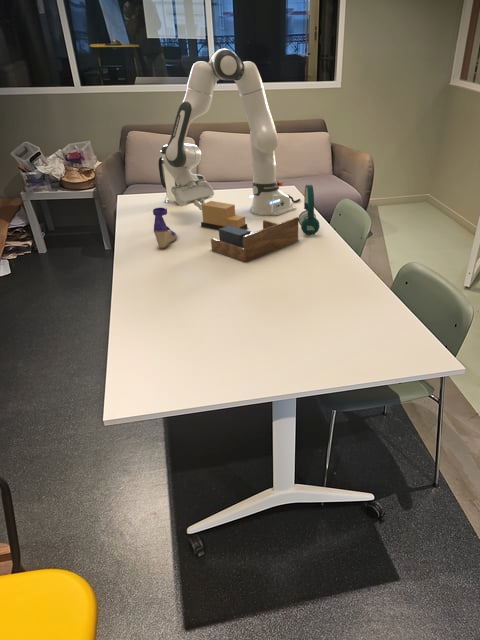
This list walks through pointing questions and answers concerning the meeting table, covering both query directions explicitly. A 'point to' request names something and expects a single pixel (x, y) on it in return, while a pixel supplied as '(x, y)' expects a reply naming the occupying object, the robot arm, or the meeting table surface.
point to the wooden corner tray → (260, 241)
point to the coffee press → (166, 177)
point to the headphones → (309, 213)
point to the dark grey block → (233, 235)
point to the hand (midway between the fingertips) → (203, 208)
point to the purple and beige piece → (162, 229)
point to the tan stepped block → (221, 216)
